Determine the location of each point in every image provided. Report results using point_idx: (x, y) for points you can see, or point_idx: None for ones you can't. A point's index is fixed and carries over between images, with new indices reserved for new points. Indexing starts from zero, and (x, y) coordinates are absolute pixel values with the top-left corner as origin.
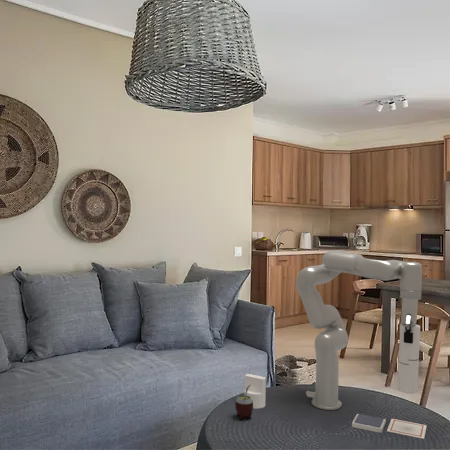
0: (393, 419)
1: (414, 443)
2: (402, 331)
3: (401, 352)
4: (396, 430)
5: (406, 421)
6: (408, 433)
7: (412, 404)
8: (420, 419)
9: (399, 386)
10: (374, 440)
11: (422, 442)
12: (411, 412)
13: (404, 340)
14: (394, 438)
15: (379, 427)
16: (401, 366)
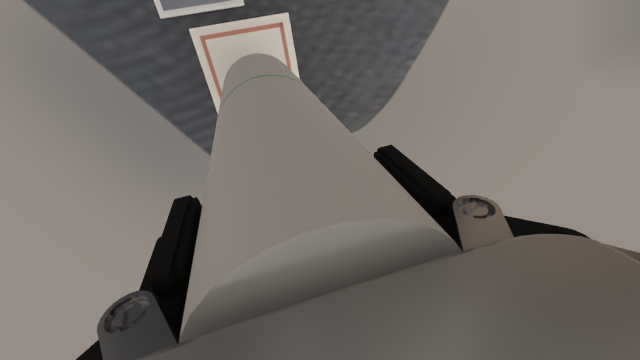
0: (285, 19)
1: (177, 115)
2: (201, 236)
3: (219, 125)
4: (214, 52)
5: (295, 57)
6: (219, 87)
7: (426, 33)
8: (334, 82)
9: (228, 72)
10: (91, 16)
11: (199, 127)
12: (368, 48)
13: (174, 213)
14: (161, 63)
15: (163, 8)
16: (221, 102)
